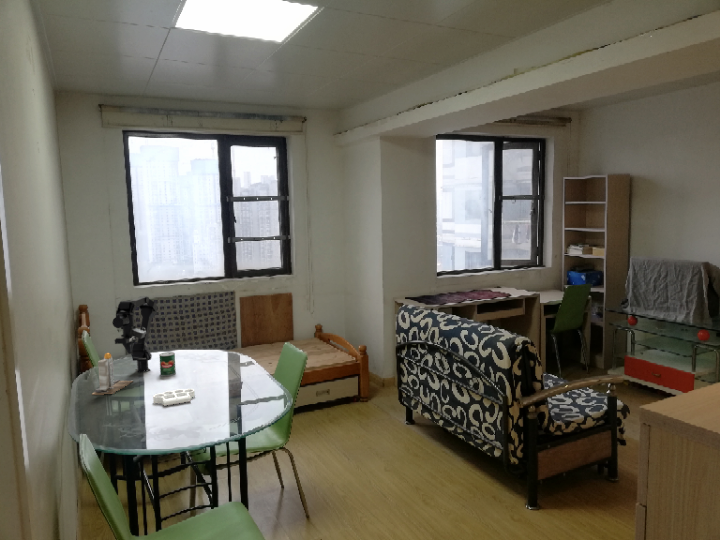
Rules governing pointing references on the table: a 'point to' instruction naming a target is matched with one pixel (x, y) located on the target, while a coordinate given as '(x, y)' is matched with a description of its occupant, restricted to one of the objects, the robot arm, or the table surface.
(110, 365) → the sliding leg
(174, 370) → the canned tomato
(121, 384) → the bolt board
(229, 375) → the table surface
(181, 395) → the white piece
